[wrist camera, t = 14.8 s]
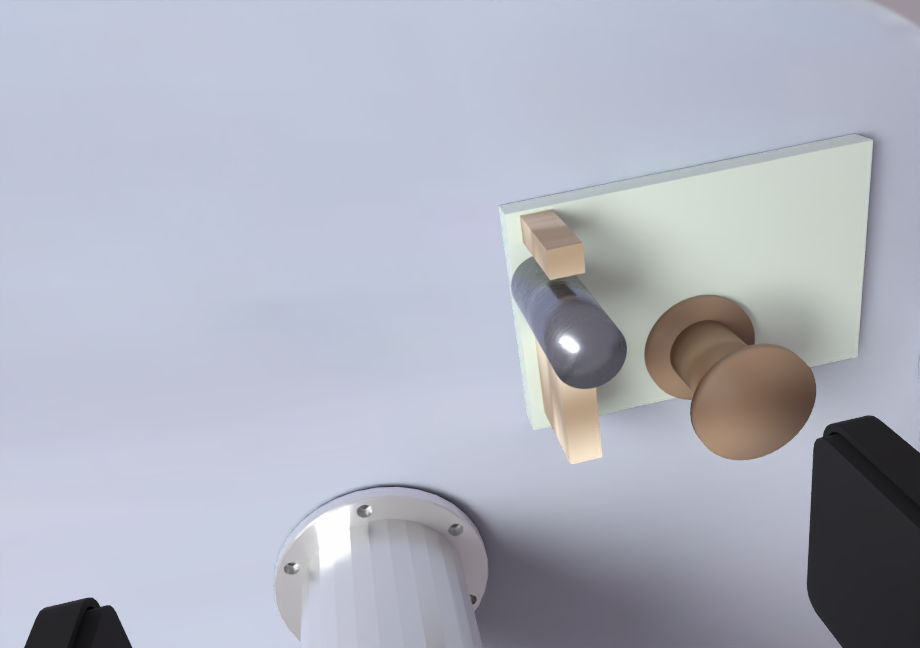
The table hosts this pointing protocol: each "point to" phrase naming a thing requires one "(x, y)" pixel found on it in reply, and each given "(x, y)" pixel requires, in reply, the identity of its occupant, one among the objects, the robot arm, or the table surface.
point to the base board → (716, 254)
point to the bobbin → (729, 377)
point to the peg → (569, 326)
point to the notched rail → (562, 403)
